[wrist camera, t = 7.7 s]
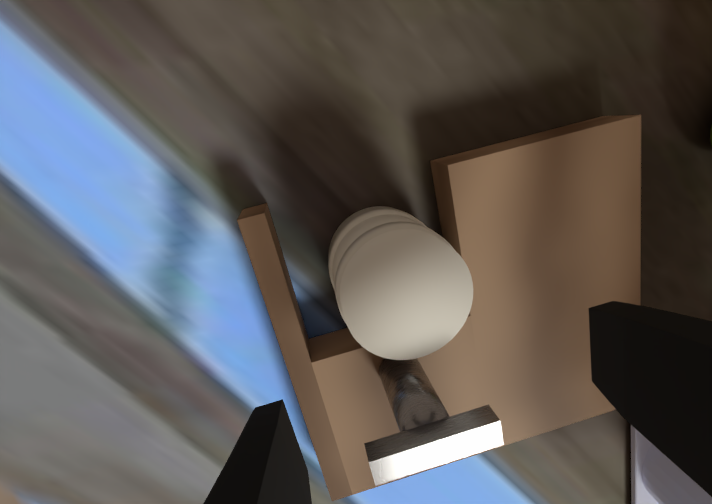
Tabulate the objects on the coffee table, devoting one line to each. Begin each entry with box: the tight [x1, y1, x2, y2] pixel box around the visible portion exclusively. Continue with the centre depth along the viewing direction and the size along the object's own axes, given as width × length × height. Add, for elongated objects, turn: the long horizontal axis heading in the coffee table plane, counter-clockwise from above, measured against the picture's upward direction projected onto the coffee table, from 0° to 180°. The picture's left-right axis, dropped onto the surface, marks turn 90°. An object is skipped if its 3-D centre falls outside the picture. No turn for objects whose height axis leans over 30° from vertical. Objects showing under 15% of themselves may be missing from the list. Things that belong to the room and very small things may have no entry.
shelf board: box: [237, 115, 641, 501], centre depth 18 cm, size 16×14×2 cm
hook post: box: [364, 358, 504, 486], centre depth 15 cm, size 4×2×5 cm, turn 103°
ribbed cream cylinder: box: [328, 206, 473, 360], centre depth 16 cm, size 5×5×5 cm
